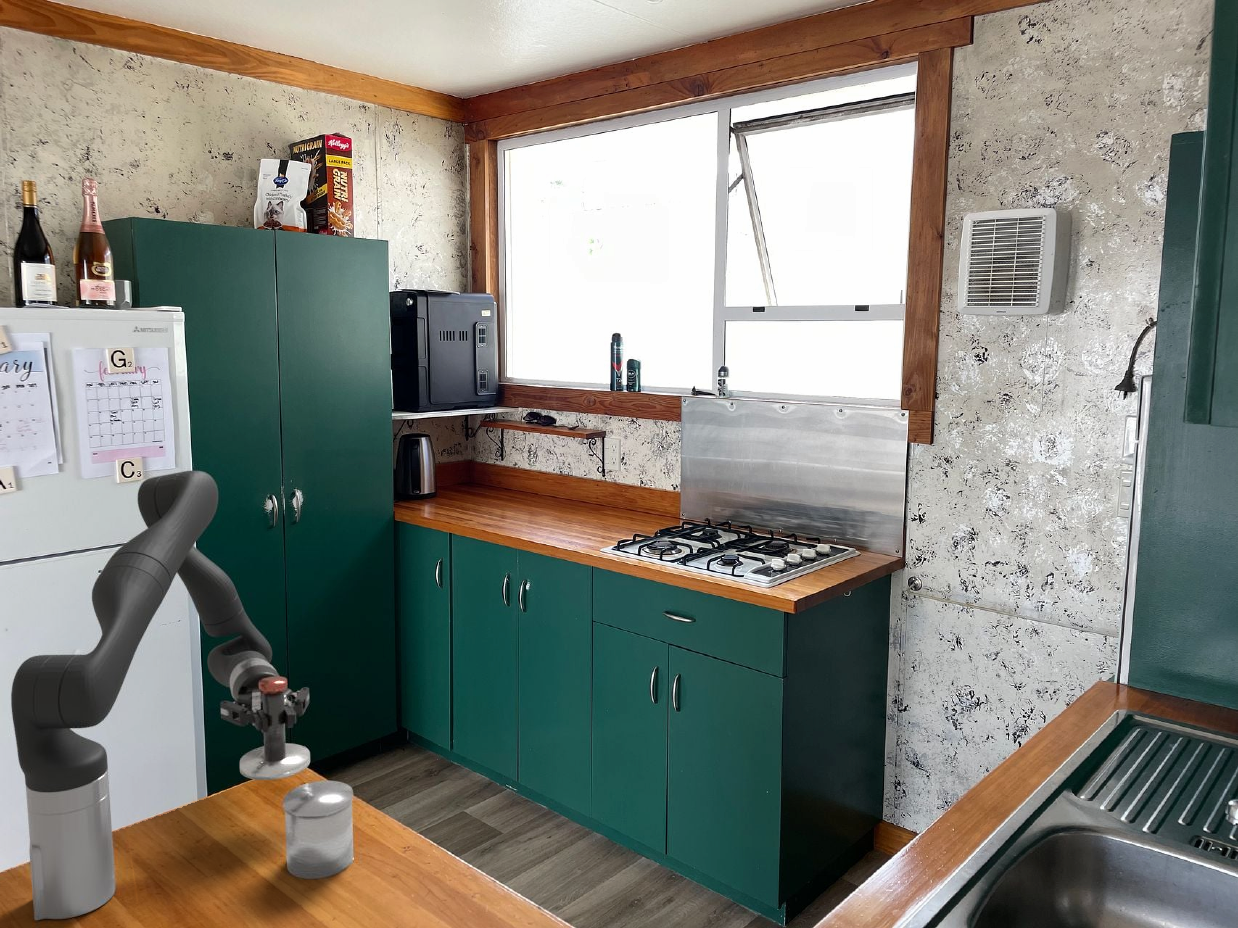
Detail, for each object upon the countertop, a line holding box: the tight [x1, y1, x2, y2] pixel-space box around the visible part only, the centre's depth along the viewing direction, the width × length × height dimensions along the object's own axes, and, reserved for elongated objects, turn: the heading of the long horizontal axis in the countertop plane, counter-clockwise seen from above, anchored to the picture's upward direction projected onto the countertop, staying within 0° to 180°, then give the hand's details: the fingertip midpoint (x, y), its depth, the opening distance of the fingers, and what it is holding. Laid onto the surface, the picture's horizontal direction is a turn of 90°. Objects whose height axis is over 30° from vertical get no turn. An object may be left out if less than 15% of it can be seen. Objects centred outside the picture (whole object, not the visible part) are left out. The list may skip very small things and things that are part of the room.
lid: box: [239, 675, 311, 781], centre depth 140 cm, size 10×10×13 cm
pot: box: [282, 780, 354, 880], centre depth 132 cm, size 9×9×10 cm
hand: (278, 723), depth 138 cm, fingers closed on lid, 3 cm apart
